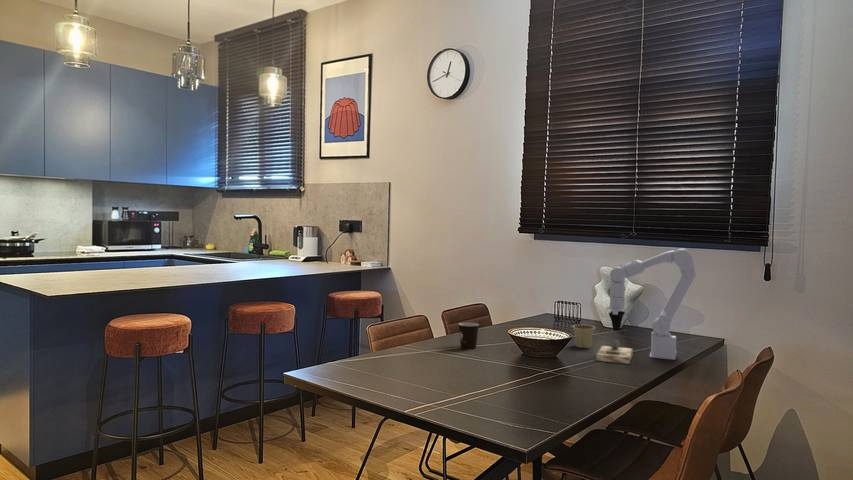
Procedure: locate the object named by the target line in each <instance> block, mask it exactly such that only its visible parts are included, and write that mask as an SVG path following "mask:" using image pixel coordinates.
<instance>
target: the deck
mask: <svg viewBox="0 0 853 480" xmlns="http://www.w3.org/2000/svg"><path fill="white" fill-rule="evenodd" d="M633 350H634V349H633V348H630V347H620V346H619V348H617V349H614V348H612V347H611V345H610V346H608V345H601V346H600V349H598V351H597V353H596V359H595V360H596V361H600V362H607V363H616V364H617V363H619V364H630V363H631V360H632V357H633V355H634V353H633V352H634V351H633Z"/></svg>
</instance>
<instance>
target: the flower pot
mask: <svg viewBox="0 0 853 480" xmlns="http://www.w3.org/2000/svg"><path fill="white" fill-rule="evenodd" d="M571 327H572V330H573V334H574V340H575V341H574V342H575V347H577V348H579V349H580V348H584V349H590V348H591V347H592V342H593V341H592V340H593V334H594V331H595V330H596V327H595V326H593V325H590V324H574V325H572V326H571Z"/></svg>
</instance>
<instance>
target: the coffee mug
mask: <svg viewBox="0 0 853 480" xmlns="http://www.w3.org/2000/svg"><path fill="white" fill-rule="evenodd" d="M457 325H458V331H459V343H460V349H462V348H464V349H463V350H466V349H472V350H476V349H477V343H478V337H479V327H480V324H479V323H477V322H459V323H458V324H457Z"/></svg>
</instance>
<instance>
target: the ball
mask: <svg viewBox="0 0 853 480" xmlns="http://www.w3.org/2000/svg"><path fill="white" fill-rule="evenodd" d="M620 346H621V343H620V341H619V340H618V339H613V340H611V341H610V347H612V348H614V349H617V348H619V347H620Z"/></svg>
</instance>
